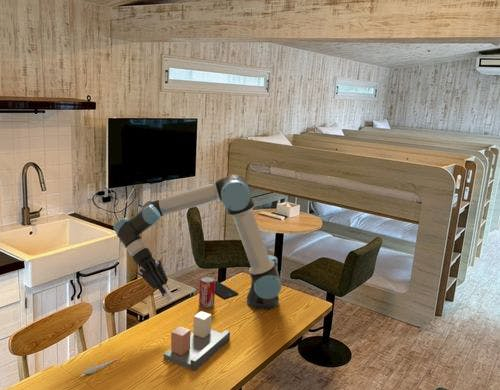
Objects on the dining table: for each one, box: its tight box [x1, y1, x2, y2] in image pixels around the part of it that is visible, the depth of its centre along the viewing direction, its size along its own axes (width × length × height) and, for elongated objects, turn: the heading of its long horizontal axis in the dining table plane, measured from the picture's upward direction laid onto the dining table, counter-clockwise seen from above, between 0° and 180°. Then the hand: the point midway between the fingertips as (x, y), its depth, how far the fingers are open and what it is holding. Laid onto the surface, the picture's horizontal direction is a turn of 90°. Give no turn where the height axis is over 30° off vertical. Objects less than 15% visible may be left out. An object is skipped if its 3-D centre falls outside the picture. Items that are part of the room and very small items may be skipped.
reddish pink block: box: [170, 325, 191, 355], centre depth 169 cm, size 5×5×8 cm
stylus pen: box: [78, 359, 117, 376], centre depth 160 cm, size 15×3×2 cm, turn 139°
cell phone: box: [214, 280, 239, 300], centre depth 226 cm, size 9×18×1 cm, turn 41°
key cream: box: [192, 310, 212, 338], centre depth 181 cm, size 5×5×8 cm
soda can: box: [198, 275, 216, 309], centre depth 209 cm, size 7×7×13 cm
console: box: [163, 329, 231, 372], centre depth 174 cm, size 14×24×4 cm, turn 152°
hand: (170, 299), depth 185 cm, fingers closed
